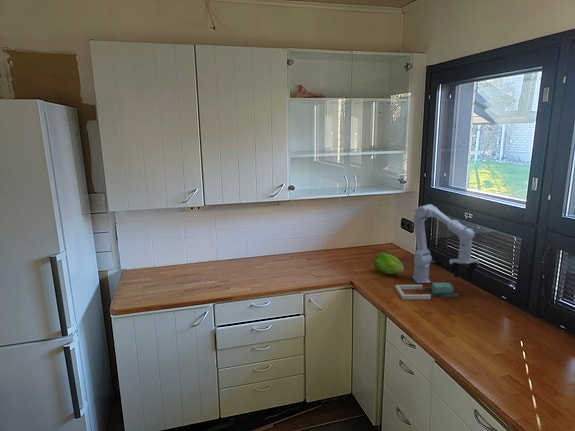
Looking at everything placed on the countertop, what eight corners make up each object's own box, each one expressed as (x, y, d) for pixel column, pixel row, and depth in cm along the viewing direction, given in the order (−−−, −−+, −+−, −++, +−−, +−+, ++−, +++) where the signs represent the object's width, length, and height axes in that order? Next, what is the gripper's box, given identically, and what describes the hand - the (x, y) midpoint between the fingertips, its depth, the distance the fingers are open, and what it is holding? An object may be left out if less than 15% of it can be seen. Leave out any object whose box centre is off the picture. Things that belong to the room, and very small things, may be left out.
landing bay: (395, 288, 209) (395, 284, 208) (421, 288, 209) (421, 284, 208) (402, 299, 195) (402, 295, 195) (430, 299, 195) (430, 295, 195)
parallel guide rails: (424, 289, 206) (424, 287, 206) (451, 289, 206) (452, 287, 206) (430, 297, 197) (430, 294, 197) (459, 297, 197) (459, 294, 197)
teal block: (431, 291, 205) (432, 282, 204) (448, 291, 204) (449, 282, 203) (435, 296, 199) (436, 287, 198) (452, 296, 199) (453, 287, 197)
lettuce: (393, 282, 217) (395, 262, 215) (369, 271, 234) (369, 253, 231) (410, 277, 225) (411, 257, 222) (385, 267, 241) (385, 249, 239)
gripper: (454, 254, 193) (451, 279, 196) (482, 254, 192) (480, 279, 195) (448, 250, 200) (446, 274, 202) (476, 249, 199) (473, 274, 202)
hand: (462, 276), depth 199 cm, fingers open, 7 cm apart
